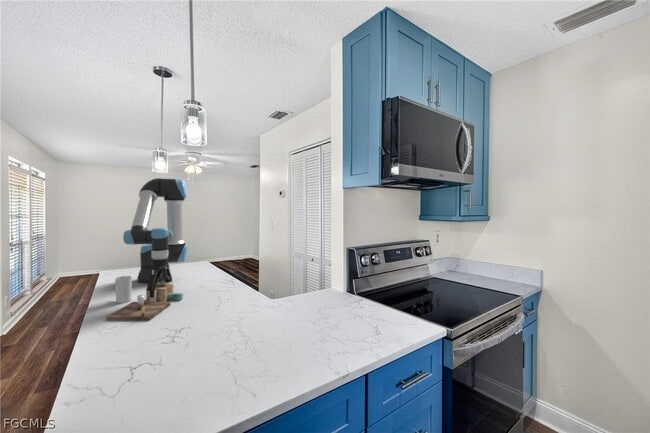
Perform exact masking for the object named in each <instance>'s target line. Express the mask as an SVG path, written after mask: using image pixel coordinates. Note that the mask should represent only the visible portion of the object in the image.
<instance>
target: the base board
mask: <svg viewBox="0 0 650 433" xmlns="http://www.w3.org/2000/svg"><path fill="white" fill-rule="evenodd" d="M171 303H172V302H171V301H166V302H146V301H144V307H145V315H144V316H141V310H137V301H132V302H130V303H128V304H127V305H125V306H123V307H121V308H119V309H117V310H115V311H114V312H112V313H110V314H108V315H107V316H106V319H105V320H106V321H151V320H152V319H154V318H155V317H157V316H158V315H159V314H161V313H162V312H163V311H164V310H166V309H167V308H169V307H170V306H171V305H172V304H171Z"/></svg>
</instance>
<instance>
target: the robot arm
mask: <svg viewBox="0 0 650 433" xmlns="http://www.w3.org/2000/svg"><path fill="white" fill-rule="evenodd" d="M140 188H141V189H140V190H139V193H138V197H139V201H138V204H137V208H136V211H135V214H134V218H133V220H132V223H131V228H130V229H127V230H125V231H124V232H123V235H122V236H123V238H122V240H123V242H124V244H125V245H142V246H141V247H140V252H139V253H140V254H139V255H140V258H139V259H140V260H139V261H140V269H139V272H138V276H137V279H136V280H137V283H142V284H147V286H146V289H147V291H150V302H156V290H155V289H156V286H157V284H159V282H161V281H164V282H163V284H171V283H172V282H173V276H172V272H171V270H170V264H174V263H175V264H176V263H177V264H179V263H184V262H185V261H186V259H187V257H188V256H187V255H188V251H189V246H188V244H187V243H186V241H185V239H183V238H184V237H183V203H184V202H185V201H186V200H185V199H186V198H188V189H187V184H186V182H185V180H184V179H179V178H161V177H160V178H157V177H156V178H153V179H151V180H149V181H147V182H145V184H144V185H142V187H140ZM158 198H163V201H164V202H165V203H166V221H167V224H166V225H167V226H166V227H154V228H152V229H148V228H149V225H150V221H151V217H152V213H153V208H154V205H155V201H157V200H158Z"/></svg>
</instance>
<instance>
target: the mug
mask: <svg viewBox="0 0 650 433" xmlns="http://www.w3.org/2000/svg"><path fill="white" fill-rule="evenodd" d="M132 282H133V281H132V276H131V275H124V276H123V275H122V276H118V277H115V280H114V288H115V302H116V303H117V304H126V303H129V302H131V301H132V284H133V283H132Z"/></svg>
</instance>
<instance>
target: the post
mask: <svg viewBox="0 0 650 433" xmlns="http://www.w3.org/2000/svg"><path fill="white" fill-rule="evenodd" d="M136 300H137V301H136V302H137V310H141V308H142V307H144V302H145V295H143V294H142V295H137V299H136Z"/></svg>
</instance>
